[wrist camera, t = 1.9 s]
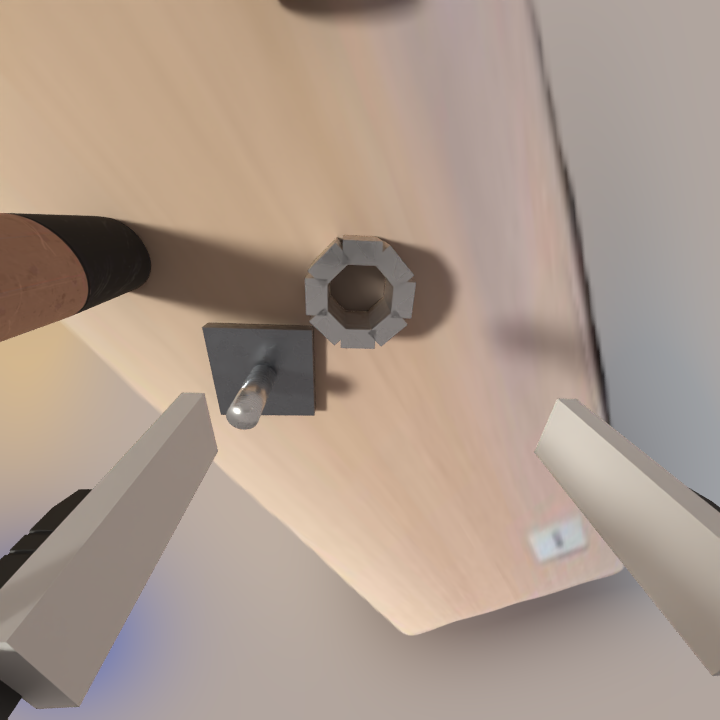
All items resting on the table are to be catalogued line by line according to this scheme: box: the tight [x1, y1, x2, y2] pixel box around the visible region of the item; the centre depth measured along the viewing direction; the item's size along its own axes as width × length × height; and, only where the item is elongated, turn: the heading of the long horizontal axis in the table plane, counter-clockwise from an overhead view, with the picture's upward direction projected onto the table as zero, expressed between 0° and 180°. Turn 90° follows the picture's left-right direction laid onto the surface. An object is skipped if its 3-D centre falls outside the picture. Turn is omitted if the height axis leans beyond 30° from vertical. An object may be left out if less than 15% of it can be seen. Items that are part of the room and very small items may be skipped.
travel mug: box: [0, 213, 151, 342], centre depth 20 cm, size 8×8×20 cm
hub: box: [305, 235, 416, 349], centre depth 29 cm, size 10×10×6 cm
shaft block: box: [202, 323, 315, 429], centre depth 32 cm, size 12×12×10 cm
